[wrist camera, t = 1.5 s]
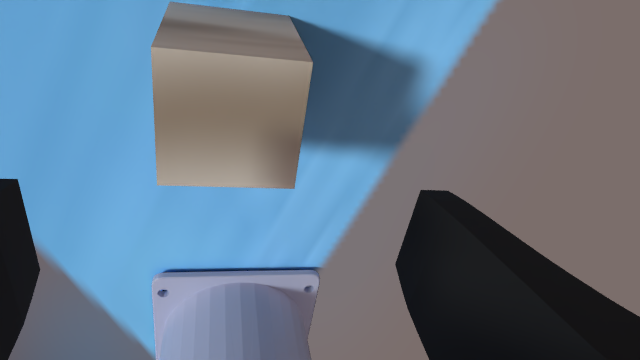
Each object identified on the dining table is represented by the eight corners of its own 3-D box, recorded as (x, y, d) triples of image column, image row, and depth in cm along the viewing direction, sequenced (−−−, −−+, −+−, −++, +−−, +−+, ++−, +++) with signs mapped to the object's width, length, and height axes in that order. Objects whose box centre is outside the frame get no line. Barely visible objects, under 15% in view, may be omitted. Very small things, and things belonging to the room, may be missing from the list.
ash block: (277, 118, 18) (294, 188, 14) (172, 111, 17) (157, 185, 13) (288, 15, 16) (313, 61, 12) (169, 1, 15) (151, 46, 11)
